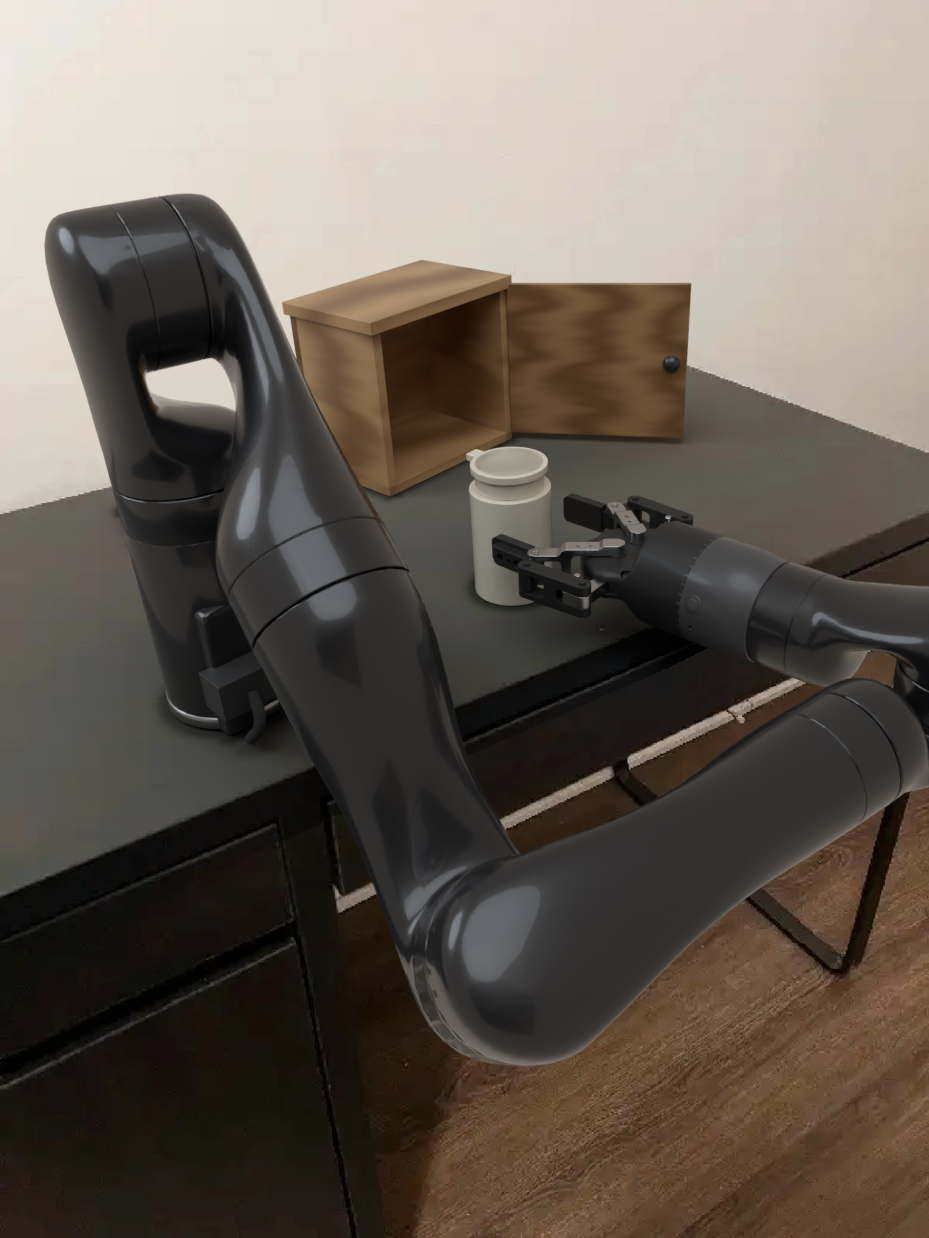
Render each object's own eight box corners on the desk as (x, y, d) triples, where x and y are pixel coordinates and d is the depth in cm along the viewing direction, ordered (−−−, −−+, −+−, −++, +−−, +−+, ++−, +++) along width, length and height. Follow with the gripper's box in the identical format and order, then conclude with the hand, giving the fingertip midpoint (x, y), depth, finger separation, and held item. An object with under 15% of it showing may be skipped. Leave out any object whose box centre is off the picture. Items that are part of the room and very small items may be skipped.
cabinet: (684, 444, 107) (694, 274, 98) (507, 544, 90) (499, 353, 81) (486, 390, 124) (478, 242, 115) (307, 467, 108) (281, 302, 98)
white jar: (569, 582, 84) (567, 458, 78) (517, 614, 81) (512, 487, 75) (503, 556, 89) (498, 436, 83) (452, 586, 85) (442, 463, 79)
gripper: (651, 683, 68) (471, 604, 78) (762, 595, 76) (588, 534, 86) (655, 585, 64) (465, 515, 74) (772, 503, 72) (588, 450, 82)
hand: (531, 525), depth 80 cm, fingers open, 8 cm apart
